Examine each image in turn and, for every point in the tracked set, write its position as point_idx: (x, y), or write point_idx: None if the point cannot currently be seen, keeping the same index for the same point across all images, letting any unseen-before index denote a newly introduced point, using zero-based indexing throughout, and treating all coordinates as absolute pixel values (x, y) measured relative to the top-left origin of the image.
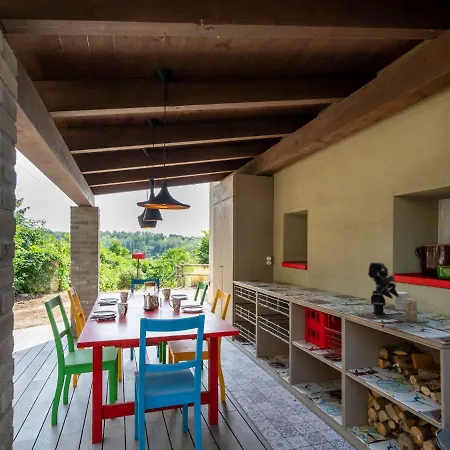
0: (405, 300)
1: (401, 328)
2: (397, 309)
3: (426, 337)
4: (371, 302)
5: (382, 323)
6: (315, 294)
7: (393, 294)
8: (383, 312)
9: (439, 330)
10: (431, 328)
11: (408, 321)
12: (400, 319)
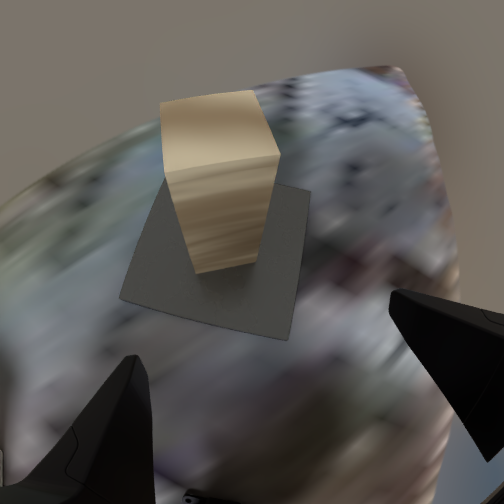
0: (277, 162)
1: (421, 174)
2: (1, 482)
3: (409, 93)
4: None
5: (444, 283)
6: None
7: (150, 467)
8: (209, 500)
9: (300, 88)
10: (301, 109)
11: (295, 216)
12: (291, 282)
